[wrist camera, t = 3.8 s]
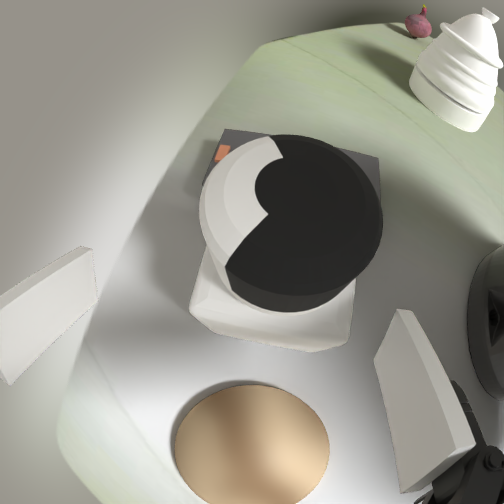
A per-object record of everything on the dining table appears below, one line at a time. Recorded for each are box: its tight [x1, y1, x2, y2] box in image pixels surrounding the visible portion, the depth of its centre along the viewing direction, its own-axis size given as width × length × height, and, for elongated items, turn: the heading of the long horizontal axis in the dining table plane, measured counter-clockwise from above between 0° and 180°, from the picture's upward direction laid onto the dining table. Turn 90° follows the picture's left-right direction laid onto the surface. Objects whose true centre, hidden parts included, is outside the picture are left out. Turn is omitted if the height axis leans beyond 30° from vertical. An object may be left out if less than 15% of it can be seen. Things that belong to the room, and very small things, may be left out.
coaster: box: [175, 385, 330, 504], centre depth 14 cm, size 10×10×1 cm
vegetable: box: [405, 5, 432, 38], centre depth 35 cm, size 6×6×10 cm
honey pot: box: [409, 7, 503, 132], centre depth 21 cm, size 13×13×18 cm
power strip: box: [202, 129, 381, 204], centre depth 21 cm, size 13×6×3 cm, turn 77°
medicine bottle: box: [189, 135, 383, 353], centre depth 14 cm, size 7×7×12 cm
